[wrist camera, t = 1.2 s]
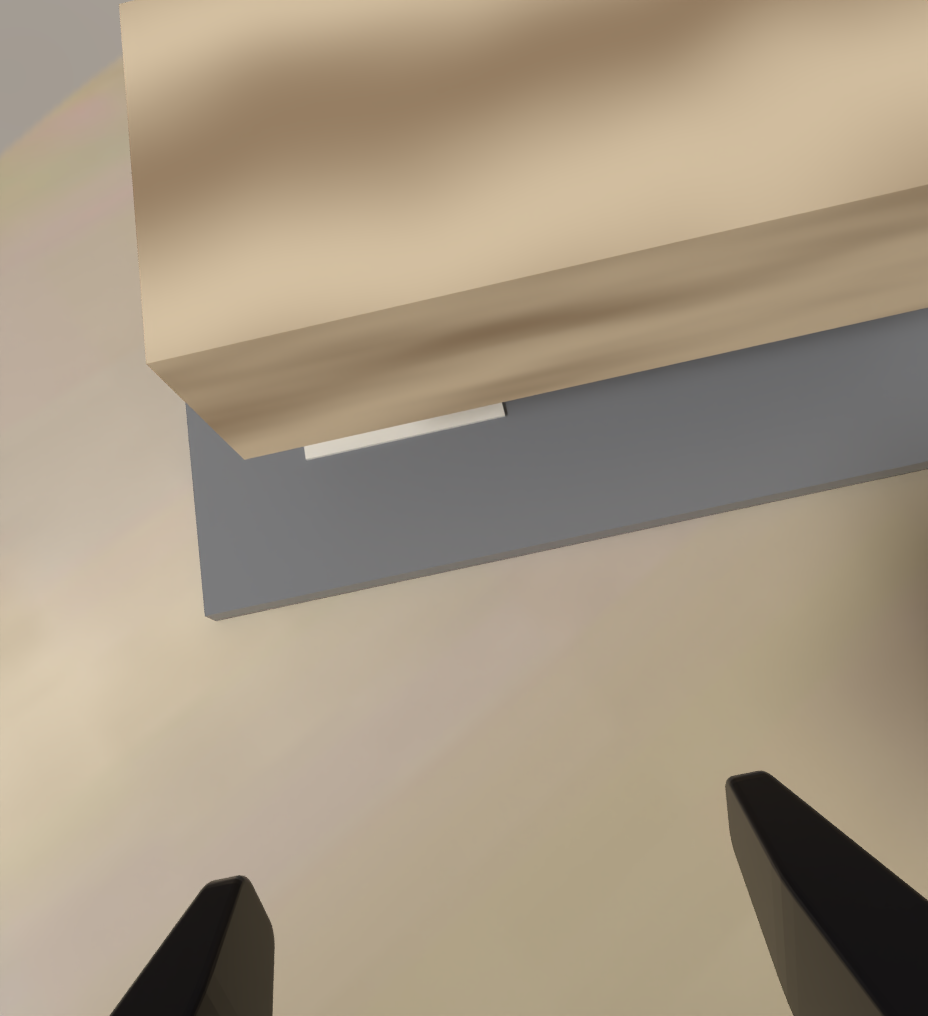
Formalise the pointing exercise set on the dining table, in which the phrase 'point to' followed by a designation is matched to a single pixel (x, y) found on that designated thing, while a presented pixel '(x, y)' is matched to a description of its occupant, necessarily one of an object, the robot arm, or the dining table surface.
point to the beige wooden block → (508, 194)
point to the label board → (560, 466)
